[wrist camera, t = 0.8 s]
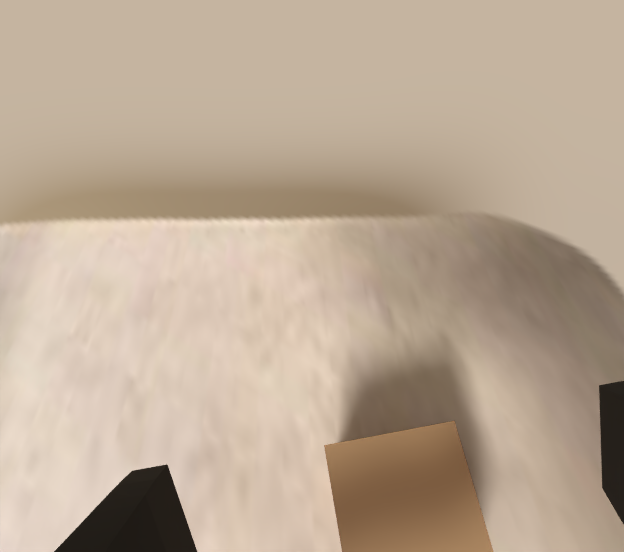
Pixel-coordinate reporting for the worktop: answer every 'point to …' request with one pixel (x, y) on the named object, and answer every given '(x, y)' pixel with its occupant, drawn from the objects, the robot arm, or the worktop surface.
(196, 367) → the worktop surface
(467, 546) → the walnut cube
